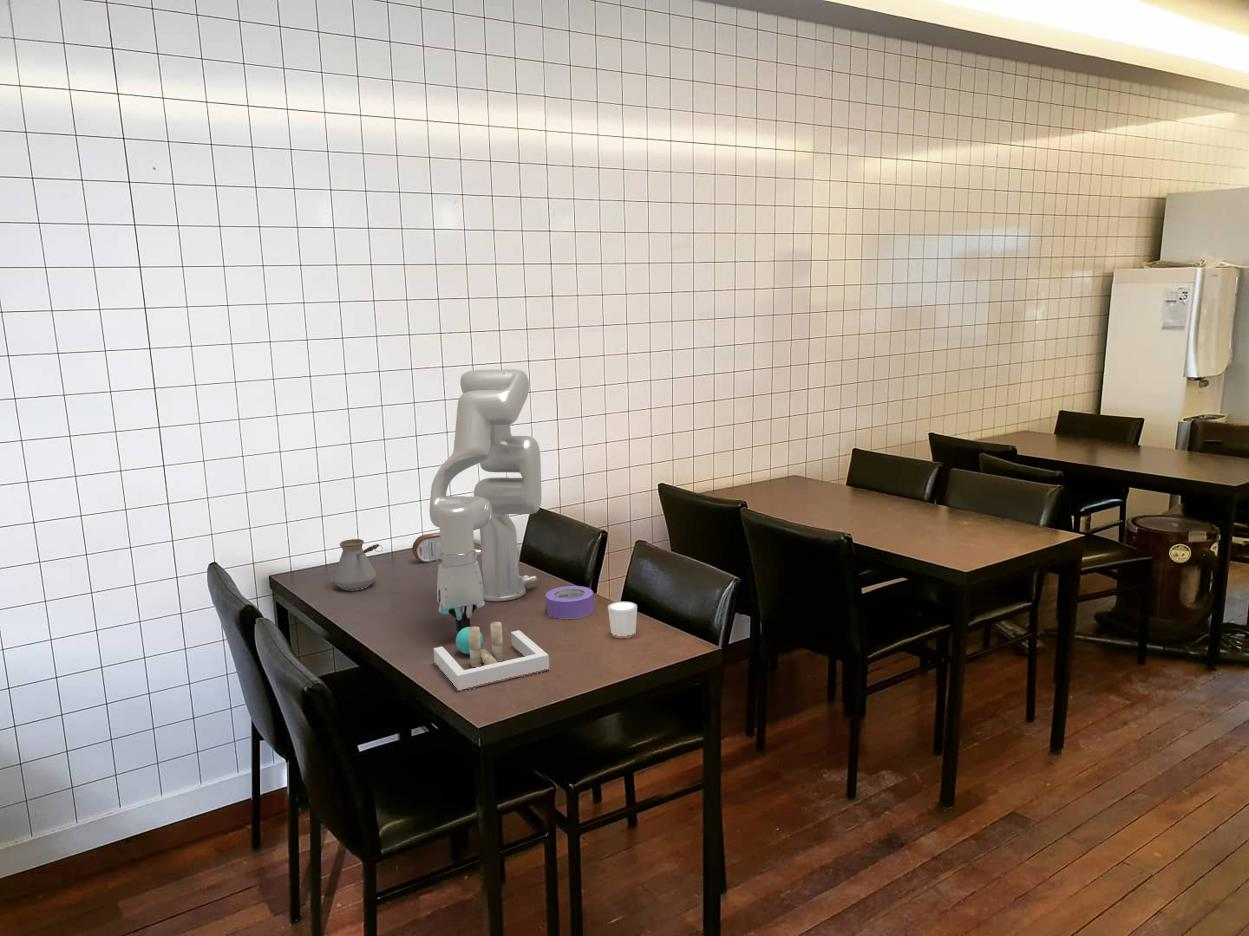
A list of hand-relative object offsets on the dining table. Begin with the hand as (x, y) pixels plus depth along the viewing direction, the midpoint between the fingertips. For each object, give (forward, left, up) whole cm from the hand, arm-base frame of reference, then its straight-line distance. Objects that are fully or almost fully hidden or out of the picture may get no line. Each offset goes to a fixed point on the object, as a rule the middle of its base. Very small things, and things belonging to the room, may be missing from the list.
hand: (463, 633), depth 216 cm
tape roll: (-29, -4, -2) cm, 29 cm away
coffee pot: (+12, -50, -2) cm, 51 cm away
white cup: (-33, +17, -2) cm, 37 cm away
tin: (-14, -67, -2) cm, 68 cm away
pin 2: (-3, +16, -2) cm, 16 cm away
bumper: (0, +18, -2) cm, 18 cm away
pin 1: (+2, +16, -2) cm, 16 cm away
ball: (+1, +9, +2) cm, 9 cm away
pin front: (0, +13, 0) cm, 13 cm away
